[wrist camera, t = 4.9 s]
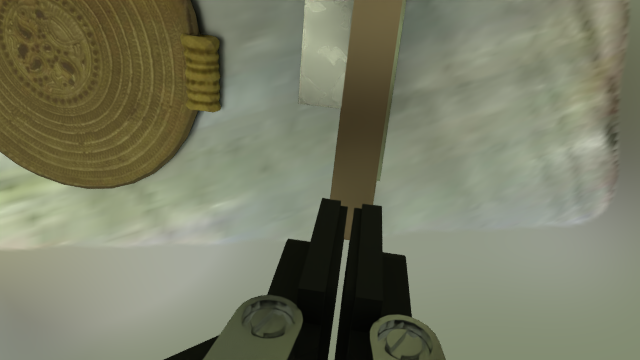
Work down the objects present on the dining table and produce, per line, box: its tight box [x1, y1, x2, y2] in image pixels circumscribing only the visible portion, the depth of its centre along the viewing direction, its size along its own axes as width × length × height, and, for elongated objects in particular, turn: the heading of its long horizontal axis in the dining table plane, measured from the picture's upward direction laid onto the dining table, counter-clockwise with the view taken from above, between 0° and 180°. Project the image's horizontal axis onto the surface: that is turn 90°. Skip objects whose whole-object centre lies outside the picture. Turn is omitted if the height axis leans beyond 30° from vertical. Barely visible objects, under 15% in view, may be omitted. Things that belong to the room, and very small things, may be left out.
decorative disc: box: [0, 0, 221, 189], centre depth 38 cm, size 29×3×30 cm
